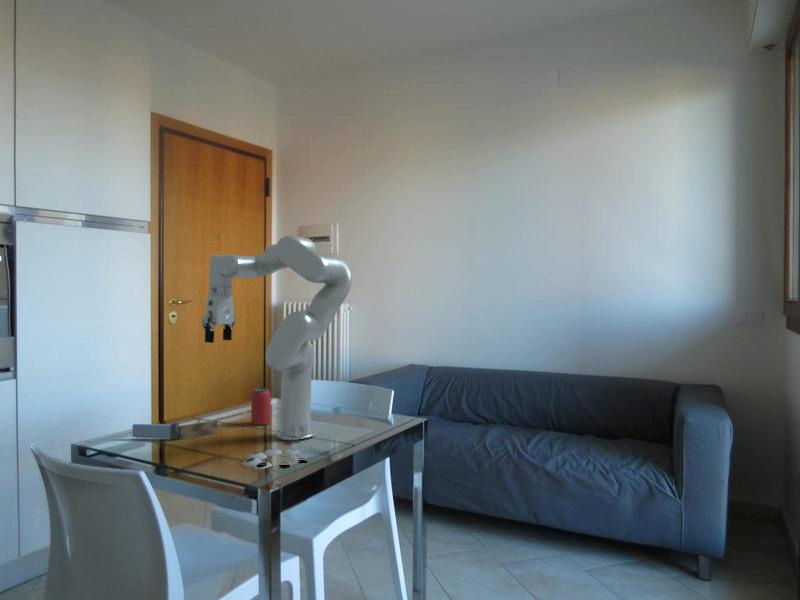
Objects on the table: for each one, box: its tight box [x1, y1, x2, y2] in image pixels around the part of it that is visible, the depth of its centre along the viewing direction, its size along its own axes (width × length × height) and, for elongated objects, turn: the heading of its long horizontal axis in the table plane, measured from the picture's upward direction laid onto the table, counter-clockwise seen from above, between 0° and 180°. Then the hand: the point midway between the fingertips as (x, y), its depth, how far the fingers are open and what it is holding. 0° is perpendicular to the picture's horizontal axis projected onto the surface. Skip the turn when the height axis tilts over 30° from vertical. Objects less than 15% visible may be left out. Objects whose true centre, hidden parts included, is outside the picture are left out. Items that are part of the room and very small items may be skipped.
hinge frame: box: [171, 420, 218, 441], centre depth 178 cm, size 14×2×5 cm, turn 132°
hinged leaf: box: [131, 423, 172, 439], centre depth 174 cm, size 12×1×4 cm, turn 87°
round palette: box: [241, 448, 307, 469], centre depth 153 cm, size 20×20×2 cm
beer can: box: [250, 387, 272, 426], centre depth 197 cm, size 7×7×12 cm
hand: (218, 341), depth 193 cm, fingers open, 9 cm apart
